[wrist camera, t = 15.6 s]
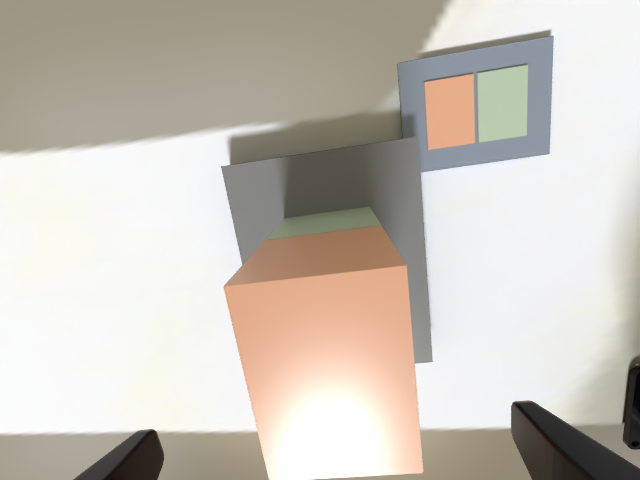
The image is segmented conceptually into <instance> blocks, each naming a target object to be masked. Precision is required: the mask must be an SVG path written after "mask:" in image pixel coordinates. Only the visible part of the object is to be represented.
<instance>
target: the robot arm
mask: <svg viewBox="0 0 640 480" xmlns="http://www.w3.org/2000/svg"><path fill="white" fill-rule="evenodd" d="M511 432H512V436H513V439H514V442H515V444H516V446H517V448H518V450H519V452H520V455H521V457H522V459H523V461H524V463H525V465H526V467H527V469H528V471H529V474H530V476H531V478H532V480H640V469H639V468H638V467H636V466H635V465H633V464H632V463H630V462H628V461H627V460H625V459H624V458H622V457H620V456H619V455H617V454H616V453H614V452H612V451H611V450H609V449H608V448H606V447H604V446H603V445H601V444H600V443H598V442H597V441H595V440H593V439H592V438H590V437H589V436H587V435H585V434H584V433H582V432H581V431H579V430H577V429H576V428H574V427H573V426H571V425H569V424H568V423H566V422H565V421H563V420H562V419H560V418H558V417H557V416H555V415H554V414H552V413H550V412H549V411H547V410H546V409H544V408H542V407H541V406H539V405H538V404H536V403H534V402H532V401H515V402H513V403H512V406H511ZM623 442H624V443H625V444H626V445H627V446H628V447H629V448H630V449H640V367H636V368H634V369H633V370H632V371H631V373H630V382H629V390H628V399H627V408H626V416H625V425H624V434H623ZM163 461H164V452H163V449H162V446H161V443H160V440H159V437H158V434H157V432H156V431H155V430H153V429H148V430H140V431H137V432H136V433H134V434H133V435H132V436H130V437H129V438H128V439H126V440H125V441H124V442H122V443H121V444H120V445H119V446H117V447H116V448H114V449H113V450H112V451H111V452H109V453H108V454H106V455H105V456H104V457H103V458H101V459H100V460H99V461H97V462H96V463H95V464H93V465H92V466H91V467H90V468H88V469H87V470H85V471H84V472H83V473H81V474H80V475H79V476H77V477H76V478H75V479H73V480H157V479H158V476H159V473H160V471H161V468H162V465H163Z"/></svg>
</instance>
